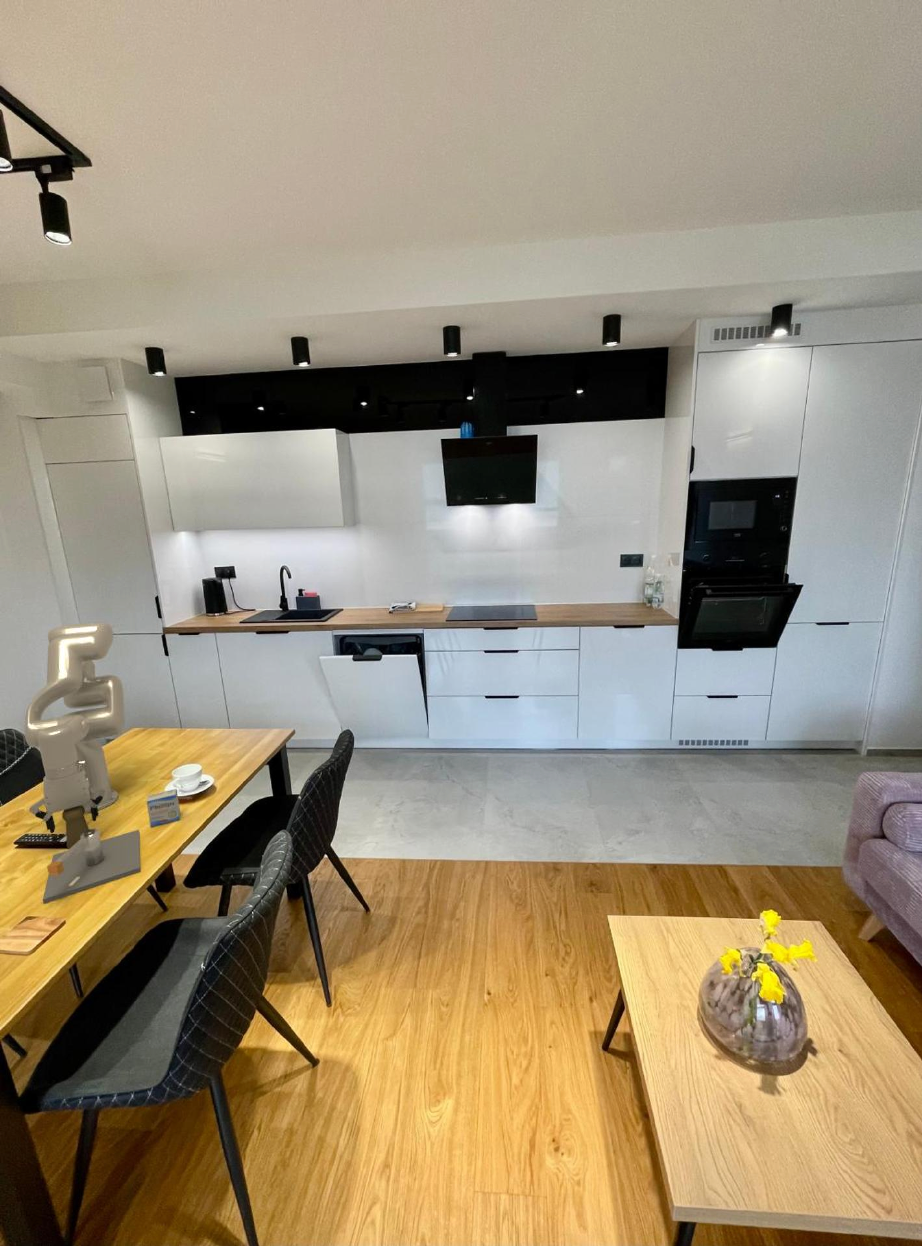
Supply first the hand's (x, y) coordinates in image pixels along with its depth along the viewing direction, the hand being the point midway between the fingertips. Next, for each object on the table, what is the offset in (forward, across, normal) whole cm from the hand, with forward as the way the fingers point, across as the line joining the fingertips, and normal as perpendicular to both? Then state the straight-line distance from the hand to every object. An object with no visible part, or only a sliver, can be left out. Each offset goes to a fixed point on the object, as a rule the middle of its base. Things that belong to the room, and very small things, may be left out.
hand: (74, 824), depth 146 cm
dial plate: (+6, -5, +15) cm, 17 cm away
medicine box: (+6, -22, +2) cm, 23 cm away
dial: (+4, -2, +20) cm, 20 cm away
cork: (+6, 0, 0) cm, 6 cm away
